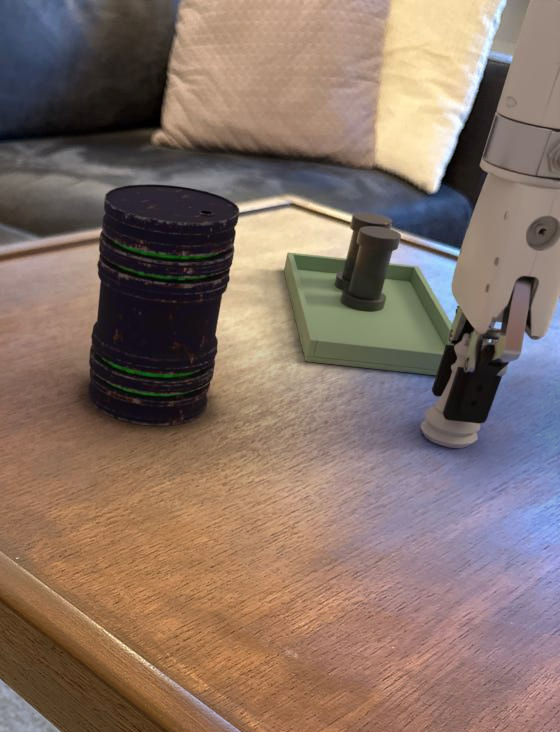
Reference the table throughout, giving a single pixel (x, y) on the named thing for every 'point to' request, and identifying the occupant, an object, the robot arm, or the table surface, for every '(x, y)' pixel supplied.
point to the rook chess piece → (435, 423)
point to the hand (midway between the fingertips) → (457, 405)
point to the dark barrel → (159, 301)
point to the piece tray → (367, 318)
